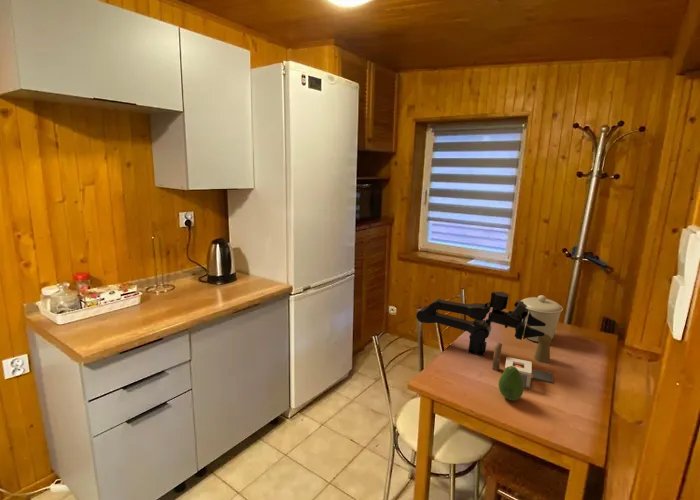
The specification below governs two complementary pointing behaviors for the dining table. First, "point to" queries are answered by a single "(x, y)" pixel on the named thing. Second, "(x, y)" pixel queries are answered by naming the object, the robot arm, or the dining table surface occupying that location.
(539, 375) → the pad
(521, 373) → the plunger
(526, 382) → the guard
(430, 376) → the dining table surface
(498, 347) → the cylinder
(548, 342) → the cork
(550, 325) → the canister
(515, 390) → the fruit
